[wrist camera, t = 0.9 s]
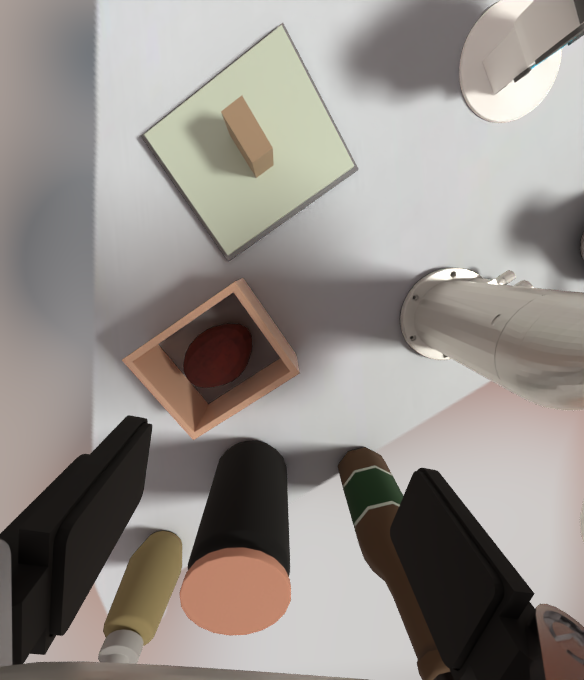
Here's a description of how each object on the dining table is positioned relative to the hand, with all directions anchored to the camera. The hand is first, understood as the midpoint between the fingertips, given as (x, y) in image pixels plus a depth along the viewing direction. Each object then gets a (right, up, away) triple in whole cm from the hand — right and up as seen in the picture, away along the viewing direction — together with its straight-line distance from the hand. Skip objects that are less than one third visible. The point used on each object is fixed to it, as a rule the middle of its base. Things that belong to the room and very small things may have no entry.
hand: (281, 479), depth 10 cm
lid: (-4, +26, +22) cm, 35 cm away
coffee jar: (-6, -15, +35) cm, 38 cm away
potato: (-9, +4, +29) cm, 31 cm away
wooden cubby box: (-9, +4, +29) cm, 31 cm away
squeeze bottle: (-21, -30, +38) cm, 52 cm away
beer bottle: (+11, -15, +35) cm, 40 cm away
